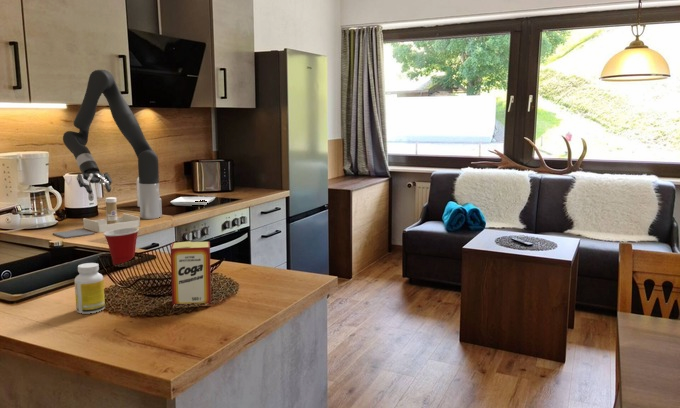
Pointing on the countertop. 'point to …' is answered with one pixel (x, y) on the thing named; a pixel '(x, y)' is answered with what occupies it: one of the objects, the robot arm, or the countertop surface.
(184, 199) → the salad plate
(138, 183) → the milk carton
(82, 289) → the pill bottle
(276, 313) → the countertop surface
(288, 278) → the countertop surface
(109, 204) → the sprinkles bottle
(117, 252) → the plastic cup
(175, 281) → the baking soda box
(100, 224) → the white shallow box
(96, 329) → the countertop surface
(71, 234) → the coaster
